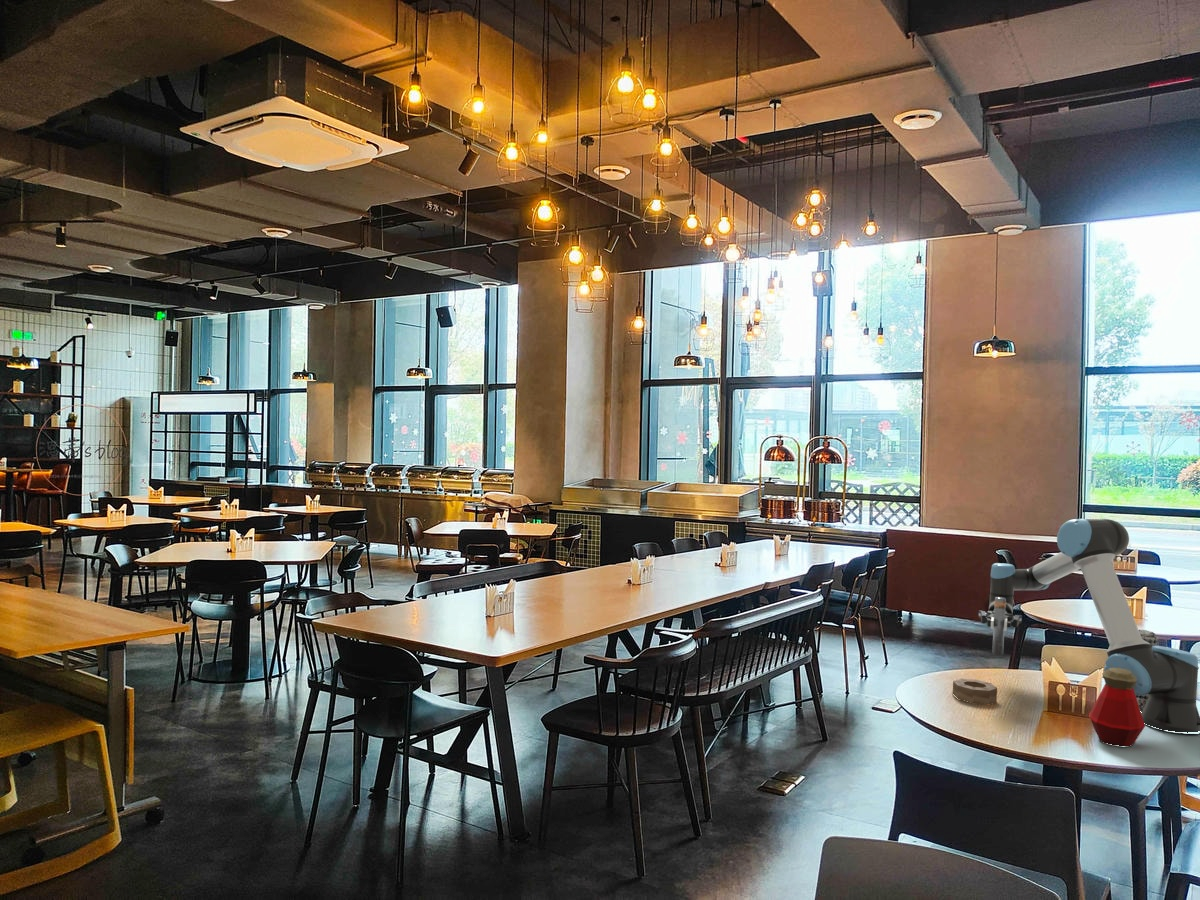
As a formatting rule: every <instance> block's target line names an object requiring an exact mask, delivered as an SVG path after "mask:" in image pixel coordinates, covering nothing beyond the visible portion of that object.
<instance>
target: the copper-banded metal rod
mask: <svg viewBox="0 0 1200 900" xmlns="http://www.w3.org/2000/svg"><path fill="white" fill-rule="evenodd" d="M994 607H995V608H994V627H993V629H992V630H993V631H992V632H993V634H992V648H991V649H992V654H995V655H1001V656H1002V655H1004V646H1005V645H1004V643H1005V642H1004V641H1005V631H1004V620H1005V608H1006V598H1002V597H995V604H994Z"/></svg>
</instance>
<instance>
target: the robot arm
mask: <svg viewBox="0 0 1200 900" xmlns="http://www.w3.org/2000/svg"><path fill="white" fill-rule="evenodd" d="M1129 542H1130V536H1129V532H1128V531H1127V529H1126V528H1125V526H1124V525H1123V524H1122V523H1120V522H1118V521H1117V520H1116V521H1115V520H1114V519H1108V518H1106V519H1105V518H1104V519H1103V518H1102V519H1100V518H1098V519H1097V518H1095V519H1094V518H1092V519H1091V518H1078V519H1077V518H1075V519H1070V520H1067V521H1066V522H1064V523H1063V524H1062V525H1061V526H1060V528H1059V530H1058V532H1057V535H1056V543H1057V547H1058V550H1059V551H1060V552H1059V553H1056V554H1054V555H1053V556H1051V557H1048V558H1047V559H1044V560H1042V561H1041V562H1039V563H1037V564H1035V565H1033V566H1031V567H1029V568H1016V567H1015V565H1013V564H1011V563H1003V562H1002V563H1000V562H995V563H993V564H992V565H991V569H990V591H989V593H990V594H989V602H988V603H989V605H988V611H984V610H981V609H980V610H978V618H979V619H980V621H981V624H983V625H984V624H987V627H988V628H990V630H993V628H994V608H995V607H994V604H995V597H1002V598H1006V608H1005V620H1004V632H1007V631H1008V630H1007V629H1008V628H1011V627H1013V628H1018V626H1019V624H1022V617H1023V616H1022V615H1021V614H1013V612H1014V596H1015V595H1014V594H1015V591H1041V590H1046V589H1048V588H1049V586H1050V585H1051V584H1052V583H1053V582H1055V581H1057V580H1059V579H1061V578H1063V577H1066V576H1068V575H1070V574H1073V573H1074V572H1077V571H1079V570H1080V571H1081V572H1082V575H1083V577H1084V581H1085V584H1086V585H1087V588H1088V591H1089V593H1090V596H1091V599H1092V601H1093V604H1094V607H1095V609H1096V612H1097V614H1098V617H1099V621H1100V622H1101V626H1102V627H1103V630H1104V633H1105V635H1106V638H1107V641H1108V644H1109V647H1108V649H1107V650H1106V655H1107V658H1106V659H1105V662H1104V664H1105V665H1104V667H1103V669H1104V672H1105V671H1106V670H1108V669H1109V668H1122V669H1126V670H1129V671H1131V672H1132V673H1133V675H1134V676H1135V677H1136V678H1137V682H1136V684H1135V686H1134V688H1133V690H1134V693H1135V695H1138V696H1141V695H1145V694H1149V697H1148V700H1147V702H1146V704H1145V706H1144V708H1143V711H1142V713H1141V715H1142V718H1143V722H1144V723H1145V724H1147V725H1150V726H1153V727H1156V728H1159V729H1162V730H1168V731H1175V732H1187V733H1188V732H1198V731H1200V714H1199V712H1200V711H1199V710H1198V707H1197V697H1198V696H1197V695H1198V694H1197V693H1198V678H1199V677H1198V673H1199V669H1200V667H1199V658H1198V656H1197V655H1196V654H1194V653H1192V652H1189V651H1186V650H1181V649H1177V648H1174V647H1173V648H1172V647H1168V646H1164V645H1163V646H1162V645H1157V646H1152V647H1151V645H1150V643H1148V642H1146V641H1144V640H1143V639H1142V638H1141V635H1140V633H1139V630H1140V629H1139V628H1138V626H1137V623H1136V620H1135V617H1134V615H1133V612H1132V610H1131V608H1130V605H1129V603H1128V600H1127V598H1126V596H1125V593H1124V590H1123V588H1122V585H1121V582H1120V580H1119V577H1118V575H1117V572H1116V570H1115V567H1114V564H1113V560H1114V559H1115V558H1116V556H1119V555H1121V554H1122V553H1123V552H1125V551H1126V550H1127V548H1128V547H1129V544H1130V543H1129ZM1145 724H1144V725H1145ZM1147 725H1146V726H1147Z"/></svg>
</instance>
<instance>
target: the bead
mask: <svg viewBox="0 0 1200 900" xmlns="http://www.w3.org/2000/svg"><path fill="white" fill-rule="evenodd" d="M953 694H954V695H955V696H956V697H957V698H958V699H961V700H965V701H968V702H971V703H970V704H972V703H976V704H975V705H985V704H990V705H992V703H993V704H995V703H997V701H998V698H997V697H998V687H997V686H995V685H994V684H993V683H991V682H987V681H983V680H980V679H972V678H970V679H969V678H958V679H956V680H953V681H952V695H953ZM957 698H956V699H957ZM958 699H957V700H958ZM961 700H960V701H961ZM965 701H964V702H965ZM968 702H967V703H968ZM994 702H995V703H994Z"/></svg>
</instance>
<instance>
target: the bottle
mask: <svg viewBox="0 0 1200 900" xmlns="http://www.w3.org/2000/svg"><path fill="white" fill-rule="evenodd" d="M1102 677H1103V680H1104V683H1105V684H1104V686H1103V687H1102V690H1101V691H1100V693H1099V695H1098V696H1097V699H1096V701H1095V702H1094V704H1093V706H1092V708H1091V710H1090V711H1089V714H1088V716H1089V720H1090V722H1091V724H1092V726H1093V729H1094V731H1095V733H1096V735H1097V737H1098V739H1099V741H1100V742H1101V741H1102V743H1103V742H1104V743H1103V744H1105V743H1108V744H1112V745H1119V746H1130V745H1132V744H1133V745H1134V744H1135V742H1136V741H1137V739H1138V737H1139V736H1140V735H1141V734H1142V732H1143V730H1144V729H1145V726H1146V725H1145V724H1144V722H1143V718H1142V715H1141V712H1140V709H1139V706H1138V702H1137V699H1136V696H1135V693H1134V690H1133V688H1134V686H1135V684H1136V682H1137V678H1136V677H1135V676H1134V675H1133V673H1132V672H1131V671H1129V670H1126V669H1122V668H1109V669H1108V670H1106V671H1105V670H1104V671H1103V672H1102ZM1108 744H1107V745H1108ZM1112 745H1111V746H1112ZM1133 745H1132V746H1133ZM1130 747H1131V746H1130Z"/></svg>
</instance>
